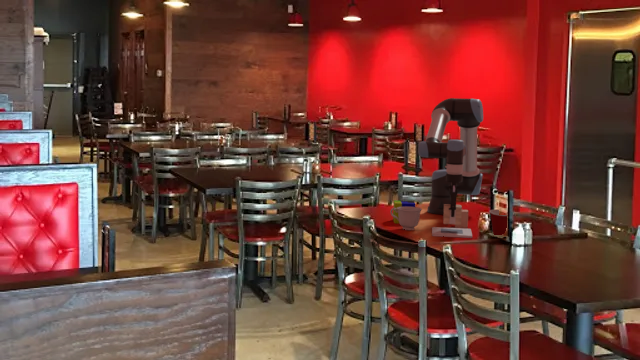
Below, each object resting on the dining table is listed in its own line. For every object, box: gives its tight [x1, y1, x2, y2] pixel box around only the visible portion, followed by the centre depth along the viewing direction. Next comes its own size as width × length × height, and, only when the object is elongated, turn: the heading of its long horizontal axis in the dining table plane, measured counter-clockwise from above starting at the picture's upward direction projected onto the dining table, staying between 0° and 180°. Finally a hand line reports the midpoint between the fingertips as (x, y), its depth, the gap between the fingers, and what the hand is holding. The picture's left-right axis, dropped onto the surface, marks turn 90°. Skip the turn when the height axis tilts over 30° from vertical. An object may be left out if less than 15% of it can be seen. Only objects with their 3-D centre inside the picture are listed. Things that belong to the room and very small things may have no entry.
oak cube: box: [442, 204, 463, 225], centre depth 375 cm, size 8×8×8 cm
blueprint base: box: [431, 226, 473, 239], centre depth 377 cm, size 18×18×1 cm
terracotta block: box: [454, 209, 469, 229], centre depth 395 cm, size 6×6×8 cm
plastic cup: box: [489, 209, 515, 235], centre depth 369 cm, size 11×11×12 cm
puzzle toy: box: [392, 200, 416, 224], centre depth 405 cm, size 10×10×10 cm
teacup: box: [390, 206, 423, 231], centre depth 385 cm, size 12×15×10 cm
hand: (452, 222), depth 376 cm, fingers closed on oak cube, 8 cm apart
